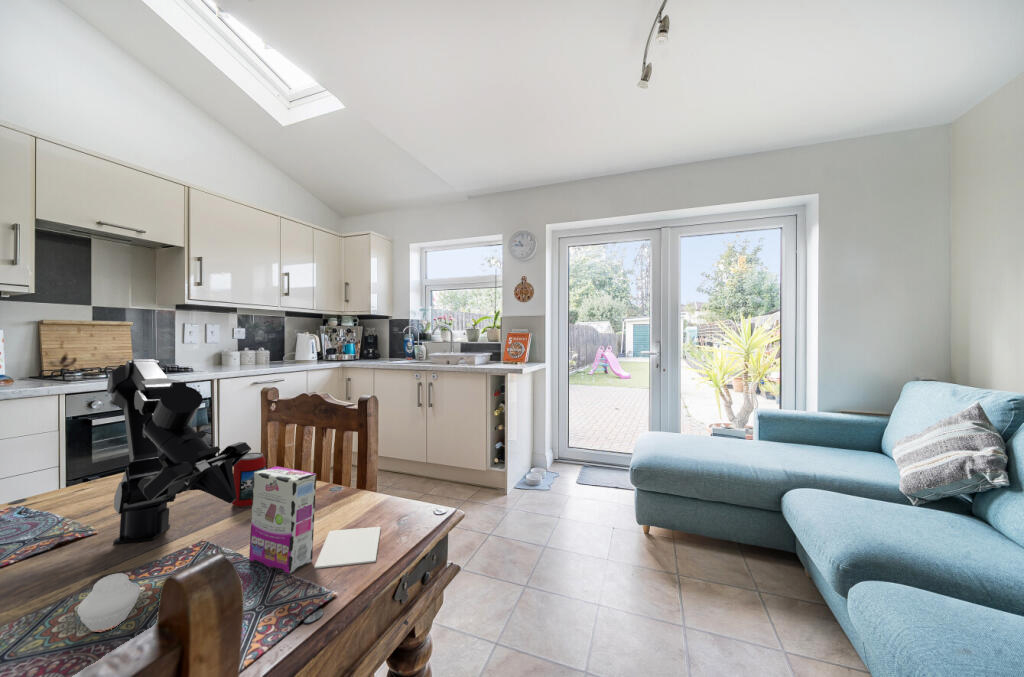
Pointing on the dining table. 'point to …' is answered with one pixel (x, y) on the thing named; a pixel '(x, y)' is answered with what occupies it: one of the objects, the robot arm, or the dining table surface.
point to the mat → (349, 547)
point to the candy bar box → (282, 518)
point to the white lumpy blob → (108, 602)
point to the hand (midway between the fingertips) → (233, 501)
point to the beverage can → (246, 477)
